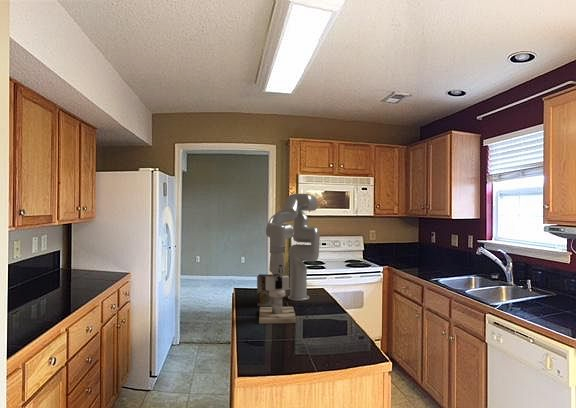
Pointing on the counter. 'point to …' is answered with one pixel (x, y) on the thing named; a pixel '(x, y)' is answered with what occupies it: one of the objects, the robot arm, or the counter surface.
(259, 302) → the coffee box
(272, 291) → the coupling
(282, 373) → the counter surface
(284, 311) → the post base
